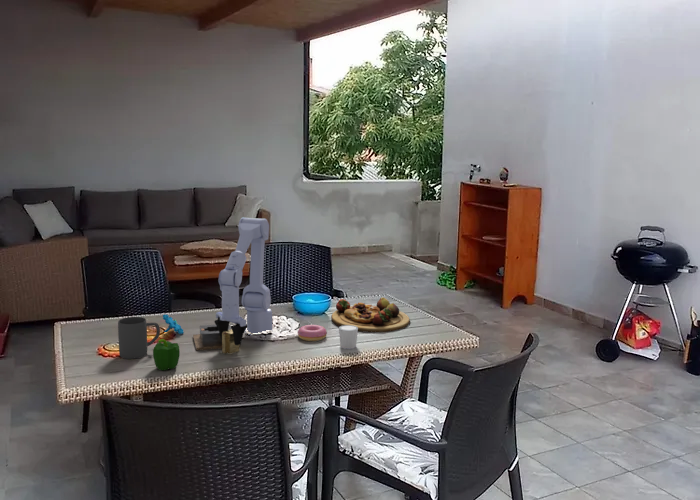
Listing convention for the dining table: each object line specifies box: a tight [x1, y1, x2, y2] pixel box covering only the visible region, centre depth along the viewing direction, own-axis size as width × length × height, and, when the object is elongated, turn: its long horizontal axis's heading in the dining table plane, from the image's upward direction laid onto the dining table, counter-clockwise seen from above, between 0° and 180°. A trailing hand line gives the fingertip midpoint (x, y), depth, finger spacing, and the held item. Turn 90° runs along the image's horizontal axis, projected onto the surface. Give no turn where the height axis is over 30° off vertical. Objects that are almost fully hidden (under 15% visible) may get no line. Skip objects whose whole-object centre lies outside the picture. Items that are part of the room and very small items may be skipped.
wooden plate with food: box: [331, 297, 411, 333], centre depth 264 cm, size 32×32×8 cm
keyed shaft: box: [221, 329, 240, 355], centre depth 224 cm, size 5×4×7 cm
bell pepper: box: [152, 338, 181, 371], centre depth 207 cm, size 8×8×10 cm
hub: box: [192, 324, 241, 351], centre depth 233 cm, size 15×15×5 cm
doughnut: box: [297, 323, 328, 342], centre depth 241 cm, size 11×11×4 cm
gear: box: [162, 313, 185, 335], centre depth 242 cm, size 11×6×10 cm
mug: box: [117, 316, 161, 360], centre depth 219 cm, size 14×9×12 cm
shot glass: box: [338, 325, 359, 350], centre depth 232 cm, size 7×7×7 cm
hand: (230, 342), depth 224 cm, fingers open, 7 cm apart
